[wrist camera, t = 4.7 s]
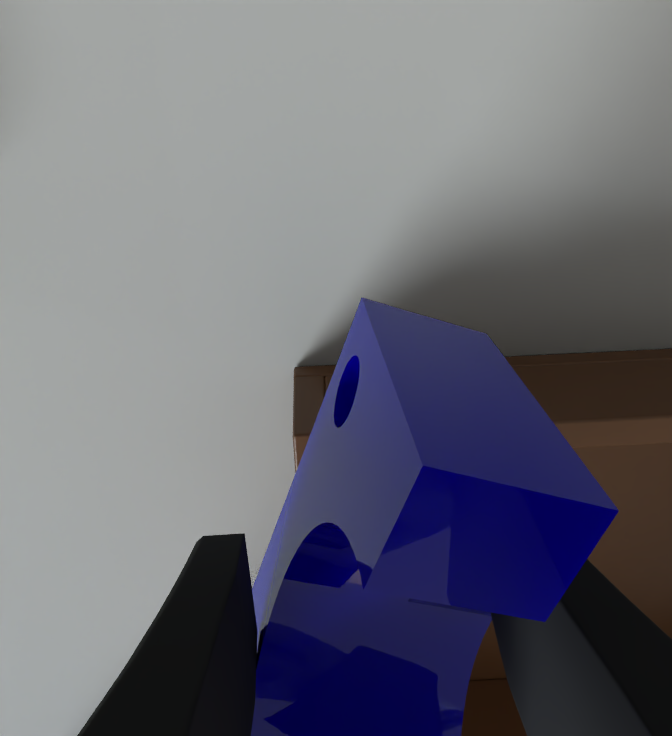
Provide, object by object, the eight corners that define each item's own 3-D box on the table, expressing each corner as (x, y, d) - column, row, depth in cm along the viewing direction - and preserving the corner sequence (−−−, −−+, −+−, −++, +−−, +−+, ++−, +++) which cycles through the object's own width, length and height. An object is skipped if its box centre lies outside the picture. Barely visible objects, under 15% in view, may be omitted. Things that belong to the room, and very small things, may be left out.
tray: (315, 689, 23) (317, 784, 20) (294, 366, 17) (292, 435, 14) (724, 662, 24) (785, 752, 21) (849, 339, 18) (962, 400, 15)
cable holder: (388, 691, 13) (433, 936, 9) (222, 668, 12) (202, 925, 9) (572, 358, 10) (746, 539, 6) (361, 297, 9) (423, 466, 5)
